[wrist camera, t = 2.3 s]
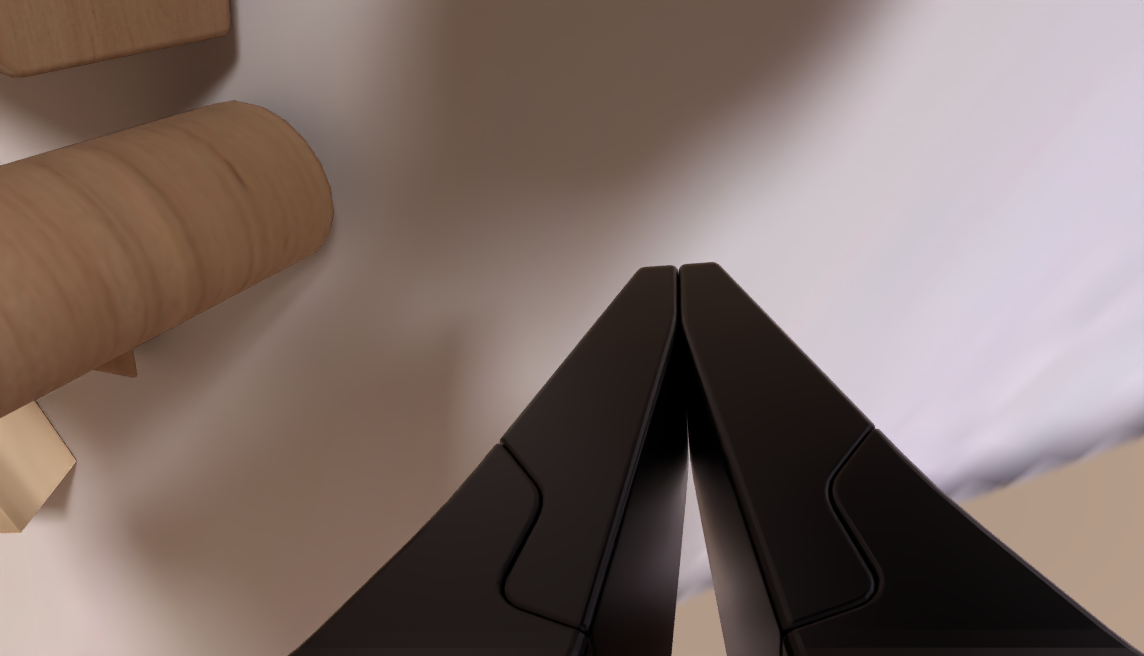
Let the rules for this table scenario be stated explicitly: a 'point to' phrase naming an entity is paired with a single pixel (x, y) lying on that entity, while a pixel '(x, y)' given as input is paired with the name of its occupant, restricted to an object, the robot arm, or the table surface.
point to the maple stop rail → (28, 465)
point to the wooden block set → (138, 203)
